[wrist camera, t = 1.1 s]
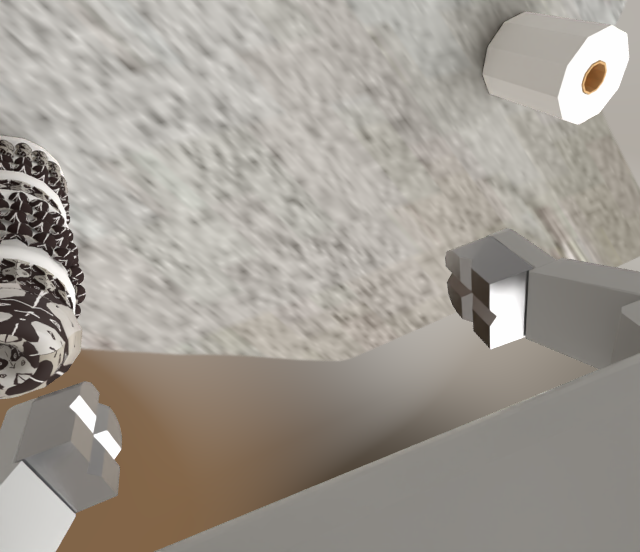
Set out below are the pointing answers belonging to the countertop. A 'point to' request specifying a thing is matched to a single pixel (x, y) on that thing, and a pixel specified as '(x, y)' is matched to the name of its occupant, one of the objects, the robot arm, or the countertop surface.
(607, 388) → the robot arm
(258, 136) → the countertop surface
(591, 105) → the toilet paper
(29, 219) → the decorative candle
